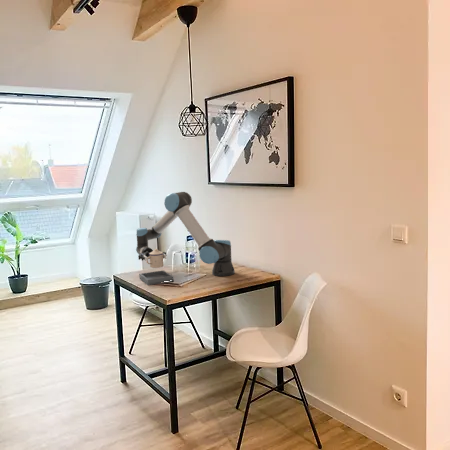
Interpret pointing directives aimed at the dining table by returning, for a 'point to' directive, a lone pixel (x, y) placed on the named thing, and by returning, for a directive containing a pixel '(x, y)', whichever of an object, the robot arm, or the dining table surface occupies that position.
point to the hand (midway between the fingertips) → (156, 257)
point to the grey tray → (155, 277)
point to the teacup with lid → (156, 259)
